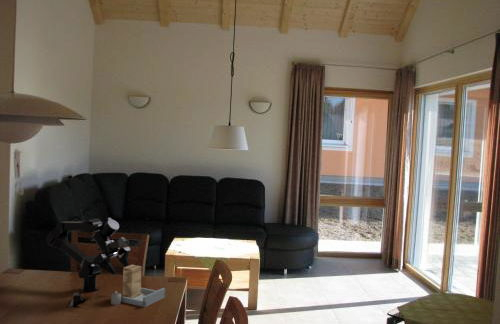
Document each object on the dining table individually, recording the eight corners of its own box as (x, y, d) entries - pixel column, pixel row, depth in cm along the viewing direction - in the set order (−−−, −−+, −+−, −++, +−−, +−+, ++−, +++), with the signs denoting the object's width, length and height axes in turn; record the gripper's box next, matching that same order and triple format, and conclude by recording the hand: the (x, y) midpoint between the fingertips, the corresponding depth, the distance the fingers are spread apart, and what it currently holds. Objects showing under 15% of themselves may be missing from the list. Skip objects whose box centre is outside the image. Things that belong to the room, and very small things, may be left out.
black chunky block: (84, 309, 186) (84, 298, 186) (65, 310, 184) (65, 299, 184) (87, 299, 198) (88, 288, 198) (70, 300, 196) (70, 289, 196)
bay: (106, 305, 190) (107, 291, 189) (135, 293, 206) (136, 279, 206) (137, 313, 183) (137, 298, 183) (164, 299, 200) (165, 285, 199)
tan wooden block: (122, 297, 197) (123, 267, 196) (131, 293, 202) (132, 264, 202) (131, 299, 195) (132, 269, 194) (140, 295, 200) (141, 266, 200)
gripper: (99, 235, 193) (118, 265, 189) (128, 228, 210) (146, 256, 206) (84, 251, 197) (103, 280, 193) (114, 243, 214) (132, 270, 210)
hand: (122, 271), depth 200 cm, fingers open, 9 cm apart
